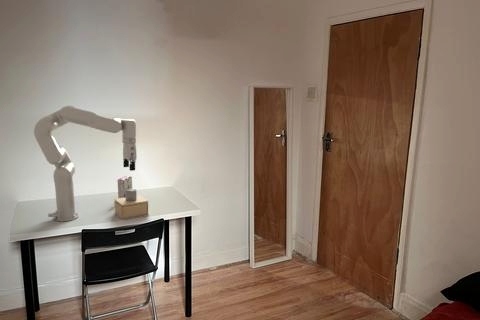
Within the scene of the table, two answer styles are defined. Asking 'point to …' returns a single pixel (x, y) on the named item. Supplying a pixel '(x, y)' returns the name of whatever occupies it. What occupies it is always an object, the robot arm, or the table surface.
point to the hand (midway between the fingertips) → (129, 168)
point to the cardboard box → (131, 210)
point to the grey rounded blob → (131, 195)
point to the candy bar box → (124, 185)
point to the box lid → (124, 203)
